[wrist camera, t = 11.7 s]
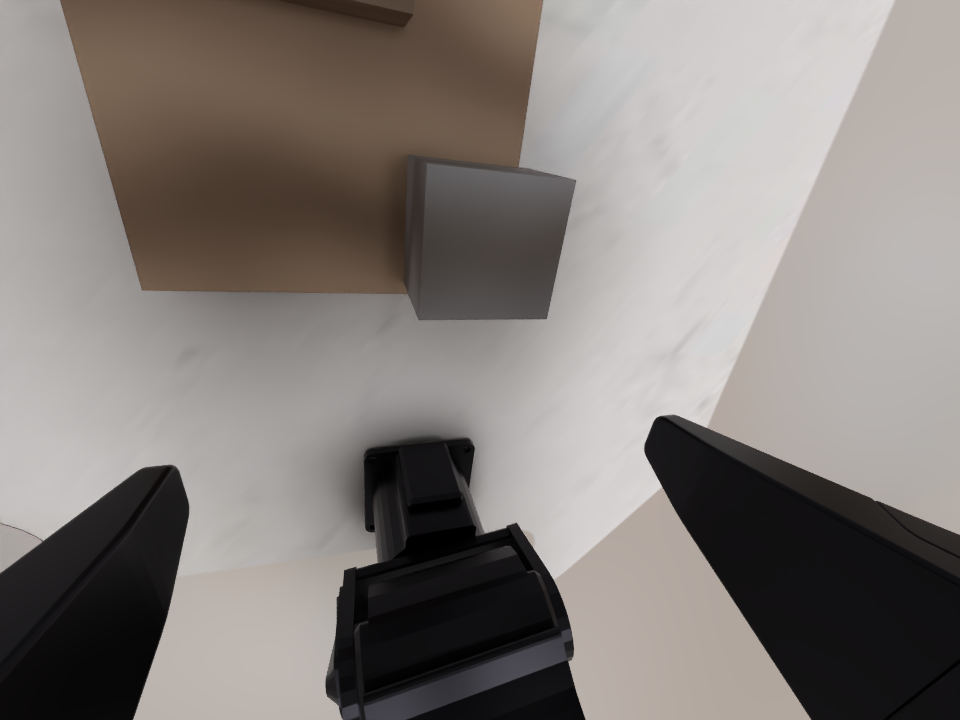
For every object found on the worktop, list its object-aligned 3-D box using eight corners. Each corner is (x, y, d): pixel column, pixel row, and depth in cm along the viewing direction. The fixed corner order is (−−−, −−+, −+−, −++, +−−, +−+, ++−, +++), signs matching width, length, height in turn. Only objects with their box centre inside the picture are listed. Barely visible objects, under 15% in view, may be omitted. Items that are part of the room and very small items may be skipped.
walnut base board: (498, 284, 21) (543, 330, 16) (156, 277, 16) (86, 338, 12) (583, -292, 12) (728, -538, 8) (-83, -643, 8) (-683, -1734, 3)
